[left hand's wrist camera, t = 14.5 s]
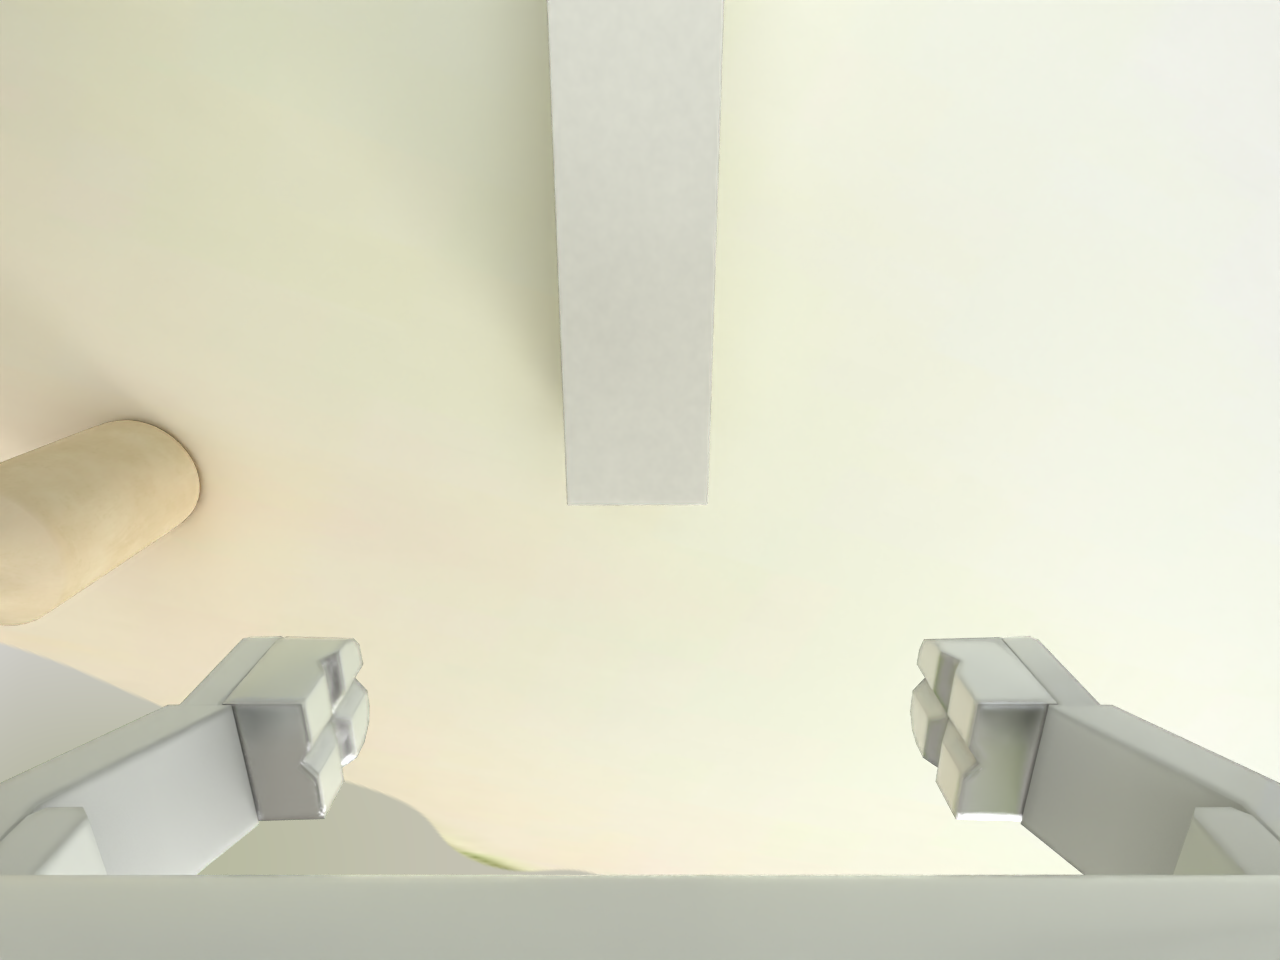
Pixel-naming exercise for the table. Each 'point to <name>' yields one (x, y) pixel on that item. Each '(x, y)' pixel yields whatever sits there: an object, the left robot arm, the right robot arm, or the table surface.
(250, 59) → the table surface
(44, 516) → the candle
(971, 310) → the table surface
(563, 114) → the bar
